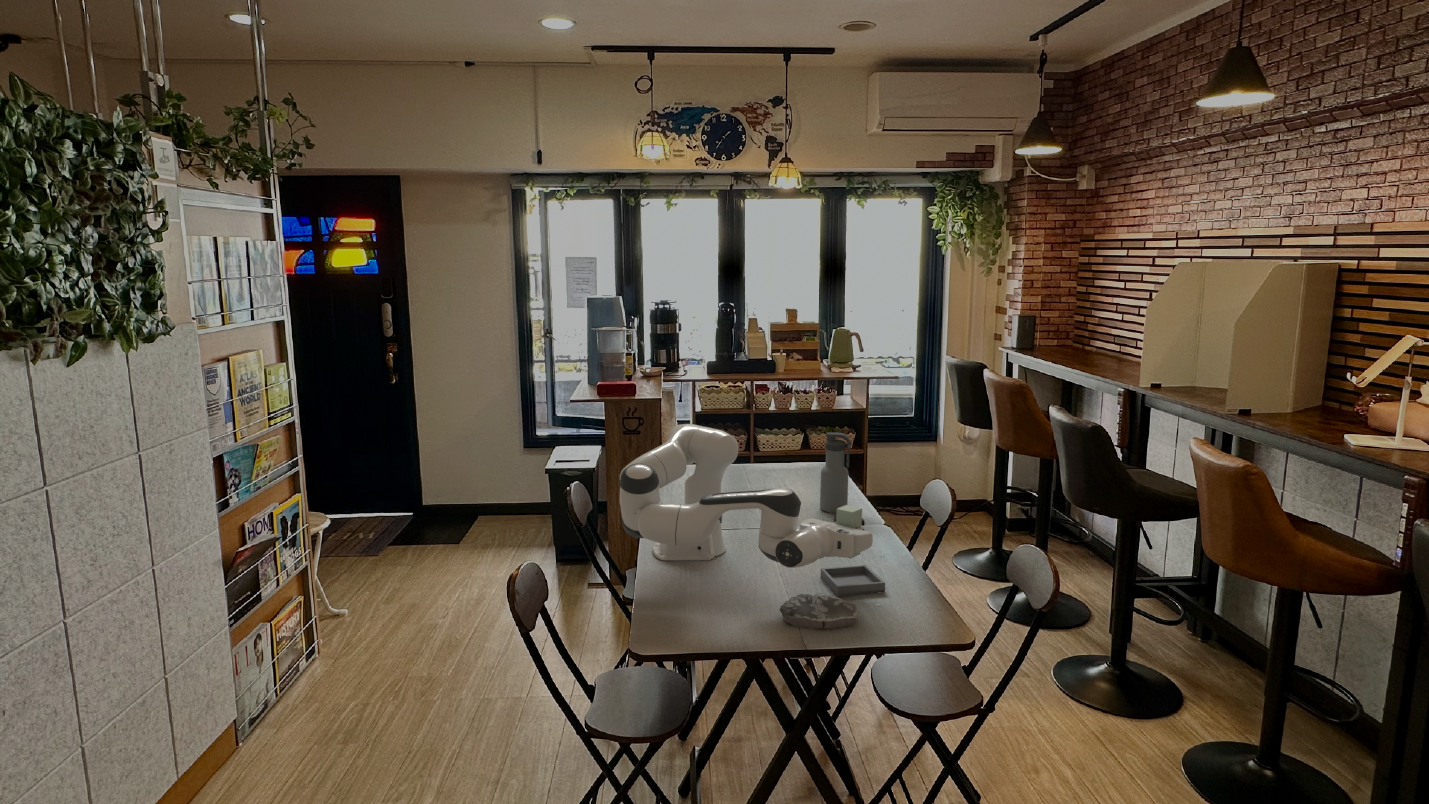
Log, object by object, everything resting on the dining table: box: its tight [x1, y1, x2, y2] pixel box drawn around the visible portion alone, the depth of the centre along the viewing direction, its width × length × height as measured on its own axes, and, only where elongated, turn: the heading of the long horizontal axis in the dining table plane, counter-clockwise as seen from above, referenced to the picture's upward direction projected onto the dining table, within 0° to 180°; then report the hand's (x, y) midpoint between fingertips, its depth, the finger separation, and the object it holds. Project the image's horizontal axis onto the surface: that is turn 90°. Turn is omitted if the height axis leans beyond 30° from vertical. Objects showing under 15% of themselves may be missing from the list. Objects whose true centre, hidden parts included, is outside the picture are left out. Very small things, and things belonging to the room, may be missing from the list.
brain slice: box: [779, 593, 859, 630], centre depth 213 cm, size 20×17×3 cm
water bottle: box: [819, 431, 852, 514], centre depth 302 cm, size 10×10×28 cm
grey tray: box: [820, 564, 886, 598], centre depth 234 cm, size 14×14×3 cm
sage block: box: [835, 504, 863, 560], centre depth 231 cm, size 5×5×13 cm
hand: (850, 527), depth 231 cm, fingers closed on sage block, 5 cm apart
